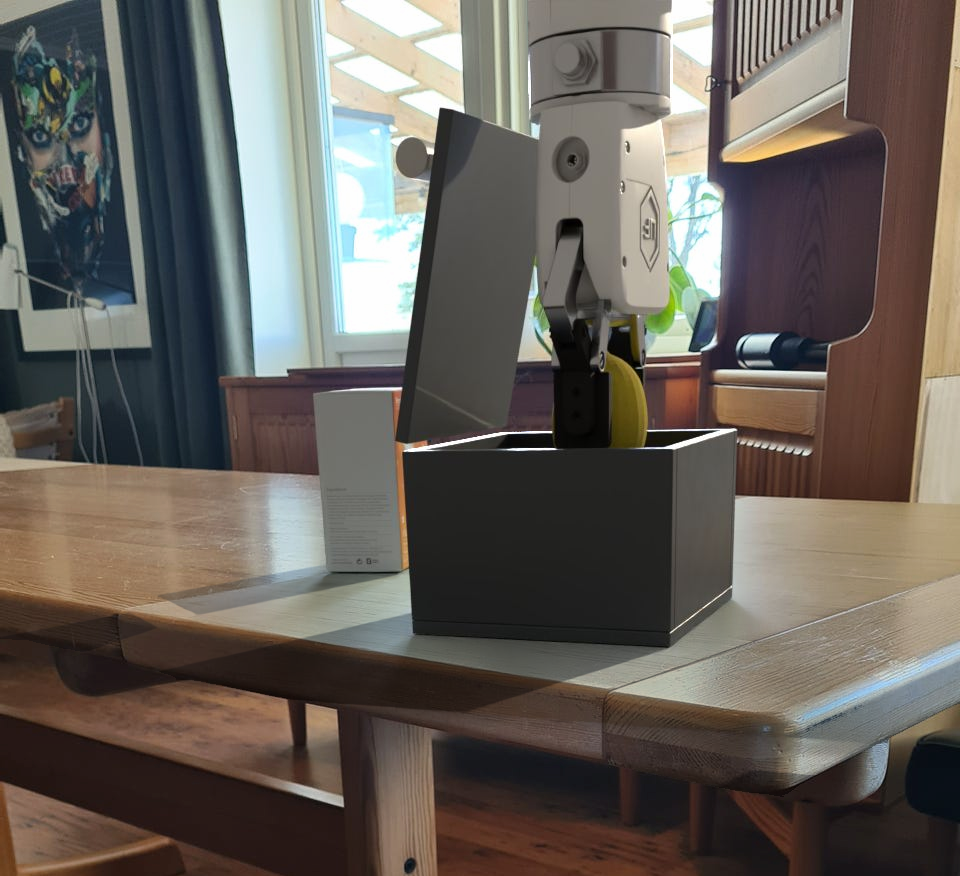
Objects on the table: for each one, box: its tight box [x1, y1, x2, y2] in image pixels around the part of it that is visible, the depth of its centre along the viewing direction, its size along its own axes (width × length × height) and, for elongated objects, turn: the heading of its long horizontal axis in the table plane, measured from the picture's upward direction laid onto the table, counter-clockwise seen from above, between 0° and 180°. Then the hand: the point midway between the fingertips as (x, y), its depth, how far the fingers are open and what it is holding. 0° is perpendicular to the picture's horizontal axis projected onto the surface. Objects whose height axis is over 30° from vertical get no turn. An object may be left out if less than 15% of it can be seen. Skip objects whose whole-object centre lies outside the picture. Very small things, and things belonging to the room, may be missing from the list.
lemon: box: [551, 351, 649, 449], centre depth 74 cm, size 6×6×8 cm
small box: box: [312, 386, 428, 573], centre depth 98 cm, size 8×6×13 cm
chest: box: [402, 428, 738, 648], centre depth 77 cm, size 16×15×10 cm
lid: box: [395, 107, 539, 444], centre depth 75 cm, size 16×15×5 cm
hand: (601, 441), depth 74 cm, fingers closed on lemon, 5 cm apart
